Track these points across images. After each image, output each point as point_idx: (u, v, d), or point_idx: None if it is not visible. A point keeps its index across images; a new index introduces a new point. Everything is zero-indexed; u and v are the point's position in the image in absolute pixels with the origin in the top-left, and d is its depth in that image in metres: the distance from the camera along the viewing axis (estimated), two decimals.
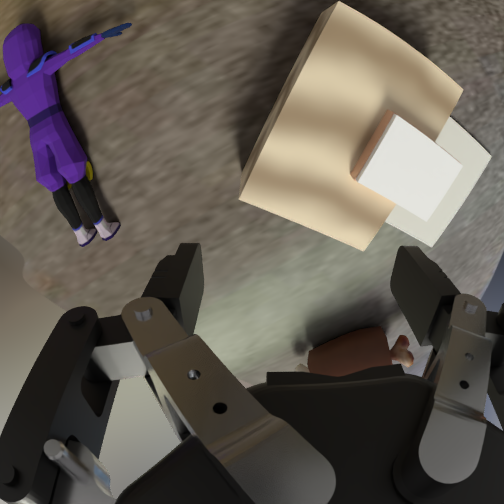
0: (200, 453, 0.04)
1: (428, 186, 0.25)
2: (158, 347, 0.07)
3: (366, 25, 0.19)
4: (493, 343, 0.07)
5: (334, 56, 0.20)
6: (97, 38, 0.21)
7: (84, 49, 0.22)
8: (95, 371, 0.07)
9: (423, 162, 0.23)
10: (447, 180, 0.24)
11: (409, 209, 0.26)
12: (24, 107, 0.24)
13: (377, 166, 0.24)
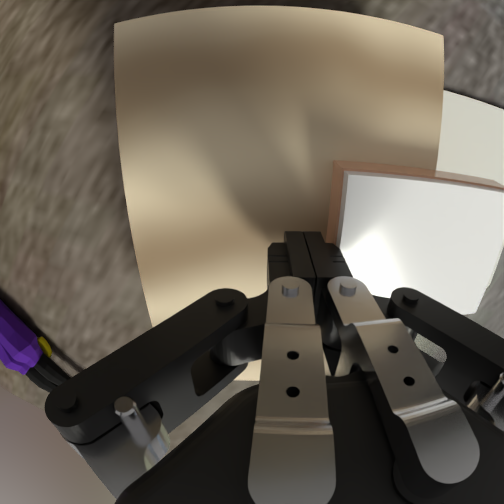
0: (253, 421, 0.05)
1: (464, 265, 0.12)
2: (283, 323, 0.07)
3: (180, 27, 0.09)
4: None
5: (157, 122, 0.11)
6: None
7: None
8: (220, 354, 0.08)
9: (441, 234, 0.11)
10: (495, 236, 0.11)
11: None
12: None
13: None
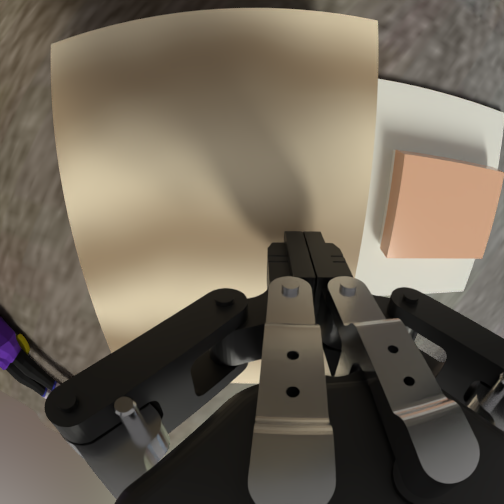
0: (253, 421, 0.05)
1: None
2: (283, 322, 0.07)
3: (104, 43, 0.09)
4: None
5: (86, 134, 0.11)
6: None
7: None
8: (220, 354, 0.08)
9: None
10: None
11: None
12: None
13: None
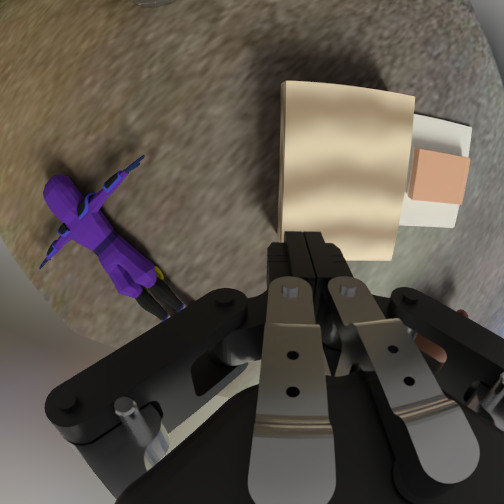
0: (253, 421, 0.05)
1: None
2: (283, 322, 0.07)
3: (315, 89, 0.27)
4: None
5: (303, 127, 0.29)
6: (123, 175, 0.35)
7: (116, 186, 0.36)
8: (220, 354, 0.08)
9: None
10: None
11: None
12: (86, 242, 0.39)
13: None
